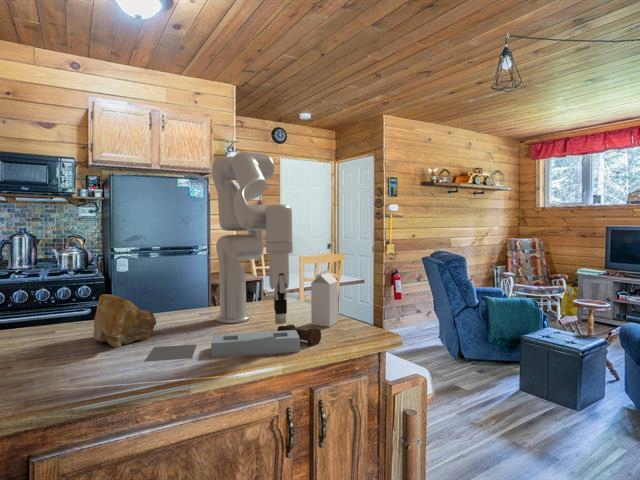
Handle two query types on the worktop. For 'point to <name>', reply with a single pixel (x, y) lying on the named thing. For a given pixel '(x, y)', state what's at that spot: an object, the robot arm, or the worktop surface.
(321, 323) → the milk carton
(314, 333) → the bolt
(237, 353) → the hole block
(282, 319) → the peg
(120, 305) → the rough brown rock
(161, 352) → the mat
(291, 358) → the worktop surface
